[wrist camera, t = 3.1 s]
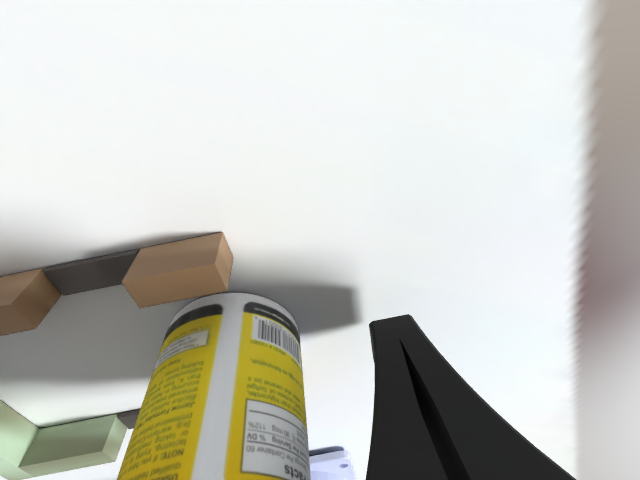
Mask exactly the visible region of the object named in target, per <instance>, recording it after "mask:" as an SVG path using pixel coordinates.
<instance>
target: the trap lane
mask: <svg viewBox="0 0 640 480" xmlns="http://www.w3.org/2000/svg"><path fill="white" fill-rule="evenodd" d="M232 263H233V256H232V253H231V251H230V249H229V246H228V244H227V241H226V239H225V236H224V234H223V232H221V233H216V234H211V235H206V236H201V237H196V238H191V239H186V240H181V241H176V242H171V243H166V244H161V245H156V246H151V247H146V248H141V249H140V251H138V249H136V250H131V251H126V252H121V253H116V254H111V255H106V256H101V257H96V258H91V259H86V260H81V261H76V262H71V263H66V264H61V265H56V266H51V267H47V268H46V269H44V268H41V269H36V270H31V271H26V272H21V273H16V274H11V275H6V276H1V277H0V336H2V335H7V334H12V333H17V332H22V331H27V330H33V329H36V328H37V326H38V325H39V324H40V322H41V321H42V320H43V318H44V317H45V316H46V315H47V313H48V312H49V311H50V309H51V308H52V307H53V305H54V304H55V303H56V301H57V300H58V299H59V298H60V296H61V295H62V294H63V295H69V294H74V293H79V292H84V291H89V290H94V289H99V288H104V287H109V286H114V285H119V284H123V285H124V287H125V288H126V289H127V291H128V292H129V294H130V295H131V297H132V298H133V299H134V301H135V302H136V304H137V305H138V306H139V308H144V307H149V306H154V305H159V304H164V303H169V302H174V301H179V300H184V299H189V298H194V297H199V296H204V295H209V294H214V293H220V292H225V291H227V290H228V285H229V279H230V274H231V268H232ZM139 412H140V410H135V411H130V412H125V413H120V414H119V415H118V414H115V415H110V416H104V417H99V418H94V419H89V420H84V421H79V422H74V423H68V424H63V425H58V426H53V427H48V428H43V429H39V428H38V427H36V426H35V425H34V424H32V423H31V422H29V421H28V420H27V419H25V418H24V417H23V416H21V415H20V414H18V413H17V412H16V411H14V410H13V409H12V408H10V407H9V406H7V405H6V404H5V403H3V402H2V401H0V476H2V477H4V478H6V479H8V480H22V479H27V478H32V477H37V476H43V475H48V474H53V473H58V472H63V471H69V470H74V469H79V468H84V467H89V466H95V465H100V464H105V463H110V462H115V461H116V458H117V455H118V452H119V450H120V447H121V444H122V441H123V439H124V436H125V433H126V430H127V428H128V429H132V428H134V427H135V424H136V421H137V418H138V415H139Z"/></svg>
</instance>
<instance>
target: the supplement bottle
mask: <svg viewBox="0 0 640 480" xmlns="http://www.w3.org/2000/svg"><path fill="white" fill-rule="evenodd" d="M117 480H311V476H310V462H309V449H308V435H307V423H306V411H305V398H304V385H303V372H302V360H301V349H300V336H299V331H298V327H297V325H296V323H295V321H294V319H293V317H292V316H291V315H290V314H289V313H288V311H287V310H285V309H284V308H283V307H282V306H280V305H279V304H277V303H275V302H274V301H272V300H270V299H267V298H265V297H261V296H258V295H253V294H248V293H223V294H215V295H210V296H206V297H203V298H200V299H197V300H195V301H193V302H191V303H189V304H188V305H186V306H185V307H184V308H182V309H181V310H180V311H179V312H178V313H177V314H176V316H175V317H174V318H173V320H172V321H171V323H170V325H169V328H168V330H167V333H166V335H165V338H164V341H163V345H162V348H161V350H160V353H159V356H158V359H157V362H156V365H155V368H154V371H153V374H152V377H151V380H150V383H149V386H148V389H147V392H146V395H145V398H144V401H143V403H142V406H141V409H140V412H139V415H138V418H137V421H136V424H135V427H134V430H133V433H132V436H131V439H130V442H129V445H128V448H127V451H126V454H125V457H124V460H123V463H122V466H121V469H120V472H119V475H118V478H117Z"/></svg>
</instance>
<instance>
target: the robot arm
mask: <svg viewBox="0 0 640 480" xmlns="http://www.w3.org/2000/svg"><path fill="white" fill-rule="evenodd" d="M369 328H370V336H371V344H372V352H373V359H374V363H375V395H374V413H373V426H372V436H371V445H370V453H369V461H368V468H367V475H366V480H576V479H575V478H574V477H572V476H571V475H570V474H569V473H567V472H566V471H565V470H564V469H562V468H561V467H560V466H559V465H557V464H556V463H555V462H554V461H552V460H551V459H550V458H549V457H547V456H546V455H545V454H544V453H543V452H541V451H540V450H539V449H538V448H536V447H535V446H534V445H533V444H532V443H530V442H529V441H528V440H527V439H526V438H525V437H523V436H522V435H521V434H520V433H519V432H518V431H517V430H515V429H514V428H513V427H512V426H511V425H510V424H509V423H508V422H507V421H505V420H504V419H503V418H502V417H501V416H500V415H499V414H498V413H497V412H496V411H495V410H494V409H493V408H491V407H490V406H489V405H488V404H487V403H486V402H485V401H484V400H483V399H482V398H481V397H480V396H479V395H478V394H477V393H476V392H475V391H474V390H473V389H472V388H471V387H470V386H469V385H468V384H467V383H466V381H465V380H464V379H463V378H462V377H461V376H460V375H459V374H458V373H457V372H456V371H455V370H454V368H453V367H452V366H451V365H450V364H449V363H448V362H447V361H446V359H445V358H444V357H443V356H442V355H441V354H440V353H439V351H438V350H437V349H436V348H435V346H434V345H433V344H432V343H431V342H430V340H429V339H428V338H427V337H426V335H425V334H424V333H423V331H422V330H421V329H420V327H419V326H418V325H417V323H416V322H415V320H414V319H413V317H412V316H411V315H409V314H407V315H402V316H397V317H392V318H387V319H382V320H377V321H372V322H371V323H370V324H369ZM309 462H310V476H311V480H357V477H356V474H355V470H354V466H353V462H352V459H351V455H350V453H349V452H348V451H344V450H343V451H336V452H331V453H326V454H321V455H315V456H310V457H309Z"/></svg>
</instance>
